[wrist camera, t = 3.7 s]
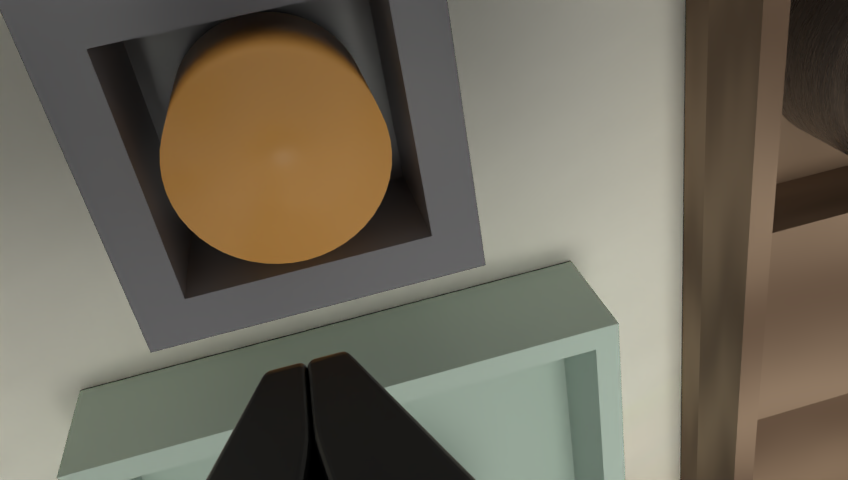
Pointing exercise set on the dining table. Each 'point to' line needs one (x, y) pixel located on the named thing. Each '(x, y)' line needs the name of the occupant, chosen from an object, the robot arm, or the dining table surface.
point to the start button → (273, 140)
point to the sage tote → (399, 387)
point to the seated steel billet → (818, 70)
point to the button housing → (141, 138)
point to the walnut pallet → (759, 262)
